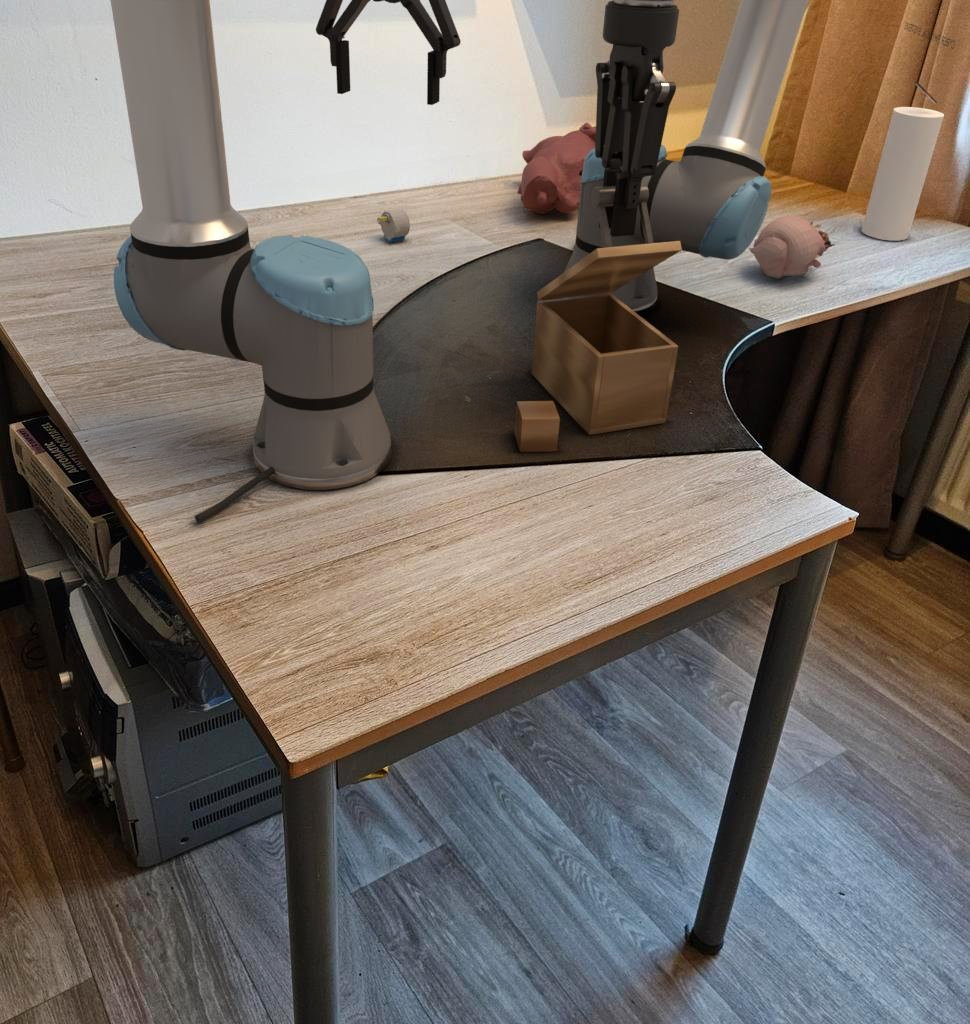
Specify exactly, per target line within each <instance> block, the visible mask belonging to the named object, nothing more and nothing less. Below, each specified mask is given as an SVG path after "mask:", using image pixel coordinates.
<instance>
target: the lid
mask: <svg viewBox="0 0 970 1024" xmlns="http://www.w3.org/2000/svg"><path fill="white" fill-rule="evenodd" d="M615 187H616V186H608V187H595V188H593V190H592V193H591V201H592V204H593V206H594V207H597V212H598V217H599V223H600V228H601V234H602V239H603V245H604V248H597V249H596V250H594V251H593V252H592V253H590V254H589V255H588V256H586V257H585V258H583V259H582V260H581V261H579V262H578V263H577V264H575V265H574V266H572V267H571V268H570V269H568V270H567V271H566V272H565V271H564V272H563V273H561V274H559V276H557V277H556V278H554V279H553V280H552V281H551V282H549V283H548V284H546V285H544V287H542V288H540V289H539V290H538V291H536V295H537V301H543V300H553V299H560V298H567V297H576V296H585V295H594V294H604V293H612V292H614V291H615V290H617V289H619V288H620V287H622V286H623V285H625V284H627V283H628V282H630V281H632V280H633V279H635V278H637V277H638V276H640V275H642V274H643V273H645V272H647V271H648V270H650V269H651V268H655V267H657V266H659V264H661V263H663V262H665V261H666V260H669V258H672V257H673V256H675V255H676V254H678V253H679V252H681V251H683V250H682V248H681V242H680V241H673V242H662V243H653V237H652V232H651V226H650V220H649V215H648V209H647V204H646V202H647V201H648V198H649V190H648V187H647V186H646V185H645V184H641V189H640V197H639V204H638V206H639V211H640V217H641V222H642V228H643V234H644V239H645V244H640V245H629V246H618V247H612V243H611V237H610V232H609V226H608V221H607V215H606V210H605V207H608V206H613V205H614V196H615Z"/></svg>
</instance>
